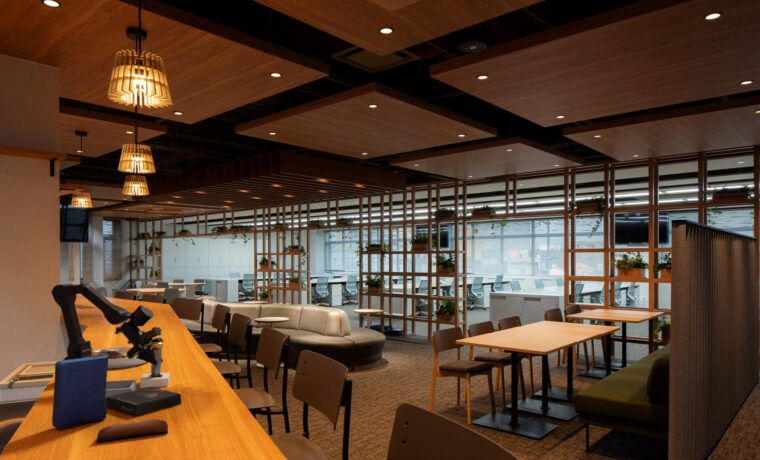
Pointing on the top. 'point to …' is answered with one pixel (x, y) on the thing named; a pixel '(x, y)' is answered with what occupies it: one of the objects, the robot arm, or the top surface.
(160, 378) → the pin socket block
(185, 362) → the top surface
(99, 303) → the robot arm
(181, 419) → the top surface
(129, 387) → the pin tray
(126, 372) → the top surface
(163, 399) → the portable cd player
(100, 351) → the bowl
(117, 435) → the sunglasses case
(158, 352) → the pin
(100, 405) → the book
